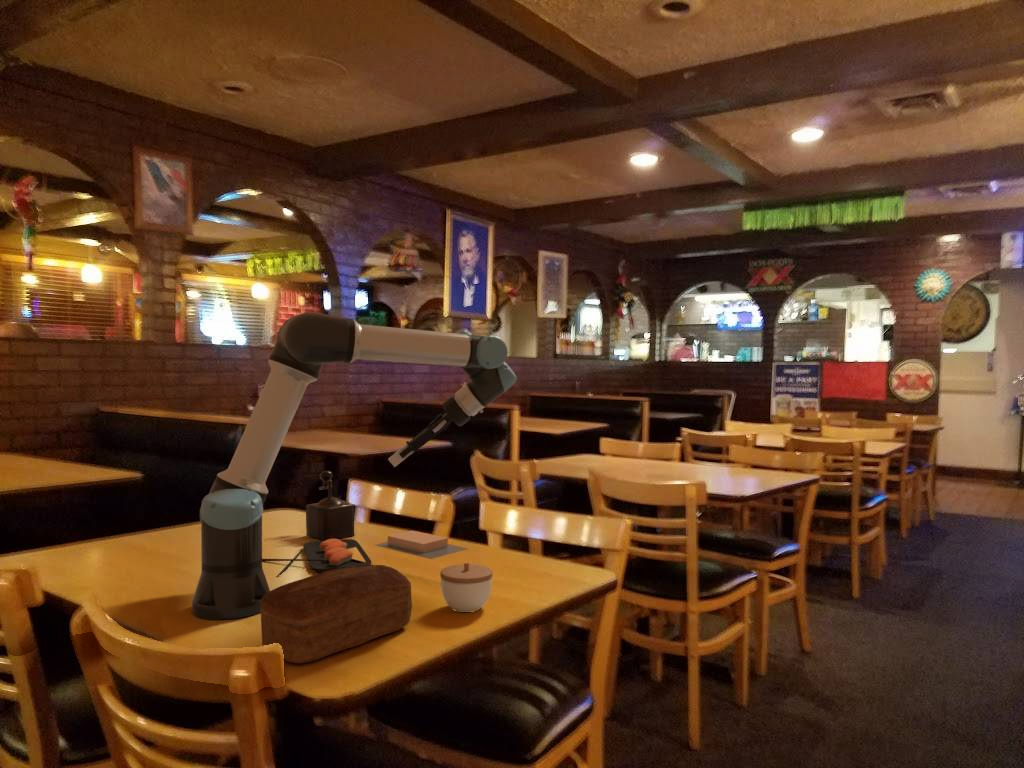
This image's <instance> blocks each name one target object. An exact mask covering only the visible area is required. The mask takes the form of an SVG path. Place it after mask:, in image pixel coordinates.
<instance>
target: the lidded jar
mask: <svg viewBox="0 0 1024 768" xmlns="http://www.w3.org/2000/svg"><path fill="white" fill-rule="evenodd" d="M463 563H464V564H463ZM463 563H462V564H453V565H449V566H447V567H444V568H442V569H441V570H440V573H439V574H440V586H441V588H440V589H441V593H442V597H443V599H444V601H445V602H446V604H447V605H448V606H449V607H451V608H450V609H451V610H452V609H454V610H456V611H460V612H471V611H476V610H478V609H480V608H481V609H482V607H483V606H484V605H485V604H486V603H487V602H488V600H489V598H490V597H491V591H492V587H493V585H492V583H493V570H492V568H490V567H489V566H484V565H480V564H472V563H469V562H463ZM481 609H480V610H481Z"/></svg>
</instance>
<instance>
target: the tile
mask: <svg viewBox="0 0 1024 768" xmlns="http://www.w3.org/2000/svg"><path fill="white" fill-rule="evenodd" d="M448 540H449V539H448V537H443V536H440V535H435V534H430V533H426V532H425V533H424V532H421V531H416V530H410V531H409V530H408V531H405V532H399V533H394V534H390V535H387V542H388V545H391V546H395V547H399V548H403V549H408V550H412V551H416V552H420V553H426V552H430V551H434V550H438V549H442V548H446V547H448V544H449V542H448Z"/></svg>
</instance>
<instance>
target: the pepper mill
mask: <svg viewBox="0 0 1024 768" xmlns="http://www.w3.org/2000/svg"><path fill="white" fill-rule="evenodd" d="M332 478H333V472H332V471H330V470H323V471H322V472H320V474H319V479H320V480H321V481H322V482H323V483H322V486H320V487H318V489H319V490H321V491H322V490H328V493H327V494H328V496H327V497H325V498H323V499H320V500H319V502H317V503H311V504H310V503H309V504H305V529H306V530H305V532H306V533H305V534H306V536H307V537H308V538H310V539H313V540H316V541H326V540H328V539H338V540H341V539H349V538H353V537H355V504H352V503H348V502H347V501H345V500H342V499H341V498H342V496H341V495H339V496H338V497H335V496H333V495H332V492H333V491H332V488H333V480H332Z"/></svg>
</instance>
